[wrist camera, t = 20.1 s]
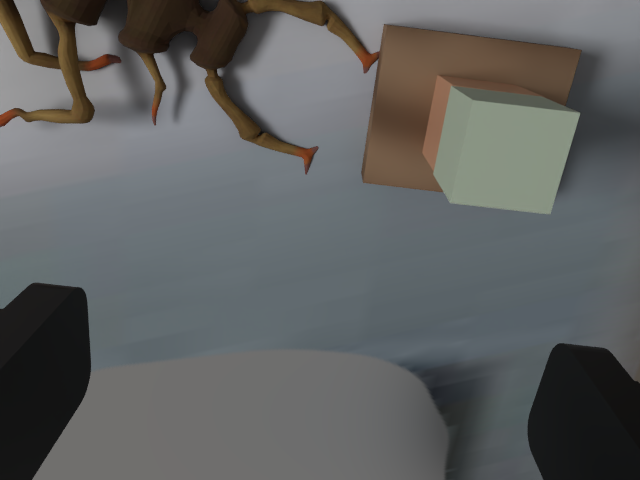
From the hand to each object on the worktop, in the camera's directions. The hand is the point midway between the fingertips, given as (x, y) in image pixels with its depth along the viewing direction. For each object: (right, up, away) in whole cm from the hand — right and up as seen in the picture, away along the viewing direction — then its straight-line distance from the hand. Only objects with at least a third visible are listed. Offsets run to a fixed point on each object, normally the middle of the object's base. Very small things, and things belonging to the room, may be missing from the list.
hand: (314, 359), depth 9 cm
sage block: (+9, +8, +21) cm, 24 cm away
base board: (+10, +11, +28) cm, 31 cm away
